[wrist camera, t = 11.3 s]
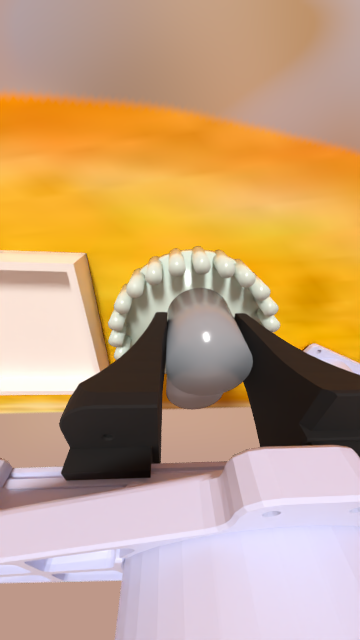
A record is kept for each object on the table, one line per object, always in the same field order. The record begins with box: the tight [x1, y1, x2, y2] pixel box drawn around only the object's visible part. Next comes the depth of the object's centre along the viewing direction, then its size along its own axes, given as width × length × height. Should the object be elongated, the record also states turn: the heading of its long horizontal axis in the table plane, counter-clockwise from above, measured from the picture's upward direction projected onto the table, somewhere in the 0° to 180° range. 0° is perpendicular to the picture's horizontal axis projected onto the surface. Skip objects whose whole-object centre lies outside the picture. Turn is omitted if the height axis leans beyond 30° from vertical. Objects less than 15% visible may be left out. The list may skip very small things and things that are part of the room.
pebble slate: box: [166, 288, 253, 396], centre depth 11 cm, size 4×4×4 cm
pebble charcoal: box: [166, 377, 223, 409], centre depth 16 cm, size 4×4×4 cm
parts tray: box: [0, 250, 109, 395], centre depth 16 cm, size 12×12×2 cm
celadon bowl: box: [108, 246, 280, 374], centre depth 16 cm, size 12×12×3 cm
